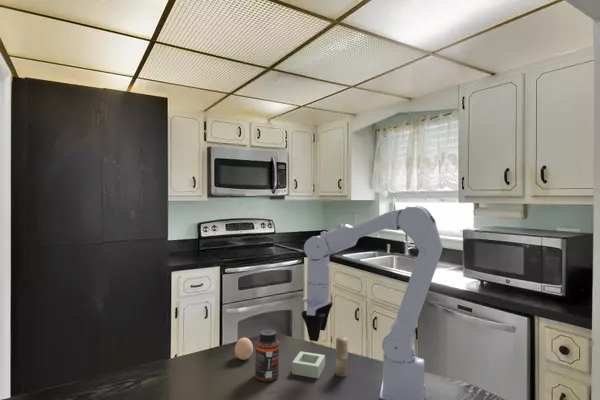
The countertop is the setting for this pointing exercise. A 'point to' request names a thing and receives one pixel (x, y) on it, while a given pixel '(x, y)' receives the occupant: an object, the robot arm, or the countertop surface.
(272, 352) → the supplement bottle
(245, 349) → the egg
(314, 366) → the hole block
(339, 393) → the countertop surface
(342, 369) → the beech peg
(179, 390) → the countertop surface
